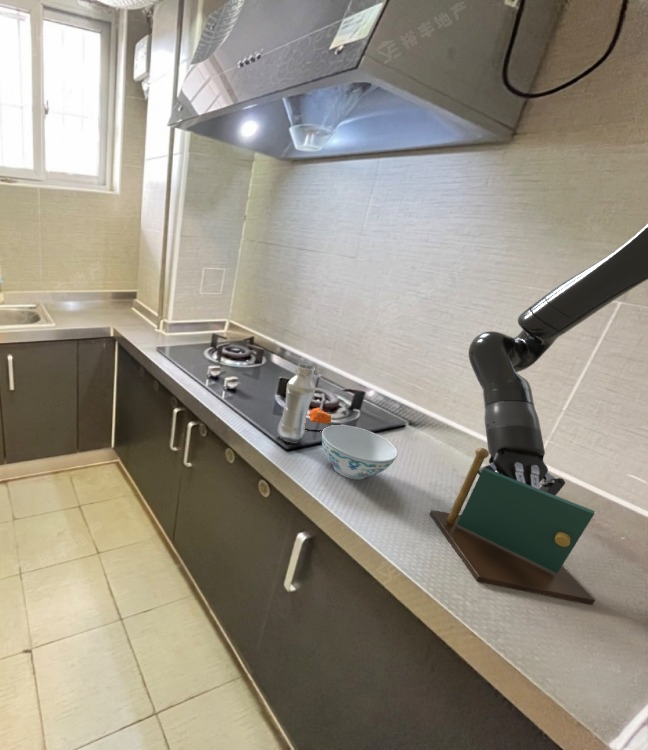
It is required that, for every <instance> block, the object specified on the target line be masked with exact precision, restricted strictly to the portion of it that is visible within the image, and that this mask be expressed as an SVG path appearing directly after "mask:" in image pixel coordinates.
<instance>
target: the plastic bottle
mask: <svg viewBox="0 0 648 750" xmlns="http://www.w3.org/2000/svg"><path fill="white" fill-rule="evenodd" d="M295 373H296V374H295V375H294V376H293V377H291V378H290V379H289V380H288V382H287V384H286V388H285V389H286V390H285V391H286V392H285V402H284V409H283V411H282V415H281V418H280V420H279V422H278V425H277V428H276V434H277V437H278V438H279V437H280V438H282V439H284V440H286V441H290V442H299V443H301V442H302V441H303V440H304V438H305V435H306V430H305V423H306V416H307V412H308V411H309V409H310V405H311V403H312V401H313V398H314V396H315V393H316V384H315V382H314V380H313V377H314V375H315V367H314V366H312V365H310V364H305V363H304V364H303V363H299V364H298V365H297V368H296V370H295ZM280 438H279V439H280ZM300 441H301V442H300Z"/></svg>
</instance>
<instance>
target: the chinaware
mask: <svg viewBox="0 0 648 750" xmlns="http://www.w3.org/2000/svg"><path fill="white" fill-rule="evenodd" d="M321 445H322V449H323V452H324V454H325V456H326V458H327V460H328V461H329V462H330V463H331V465H332V466H333V470H334V471H335V472H337V473H338V474H339V475H341V476H342V477H344V478H347V479H350V480H364V479H365V478H366V477H372V476H375V475H378V474H381V473H383V472H384V471H385V470H387V469H388V468H389V467H390V466H391V465H392V464H393V463H394V461H395V460H396V459H397V456H398V450H397V448H396V447H395V445H393V444H392V442H390V441H389V440H388V439H386V438H385V437H383V436H381V435H379V434H377V433H375V432H372V431H370V430H367V429H364V428H361V427H358V426H352V425H346V424H341V425H331V426H328V427H326V428H324V429H323V431H322V432H321Z"/></svg>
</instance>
